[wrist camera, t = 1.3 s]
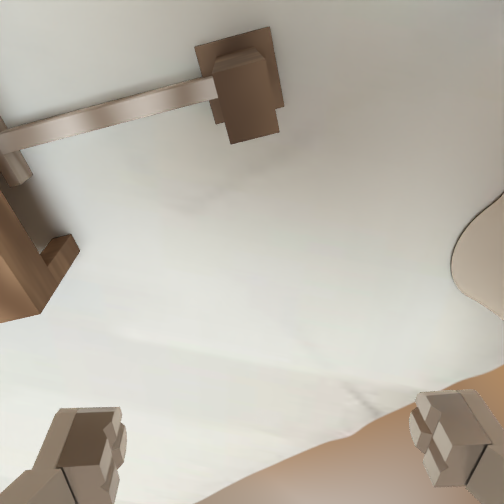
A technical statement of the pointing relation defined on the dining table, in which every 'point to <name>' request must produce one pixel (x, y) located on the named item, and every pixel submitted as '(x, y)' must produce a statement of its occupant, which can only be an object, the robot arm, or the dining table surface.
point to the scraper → (173, 101)
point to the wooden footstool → (28, 267)
